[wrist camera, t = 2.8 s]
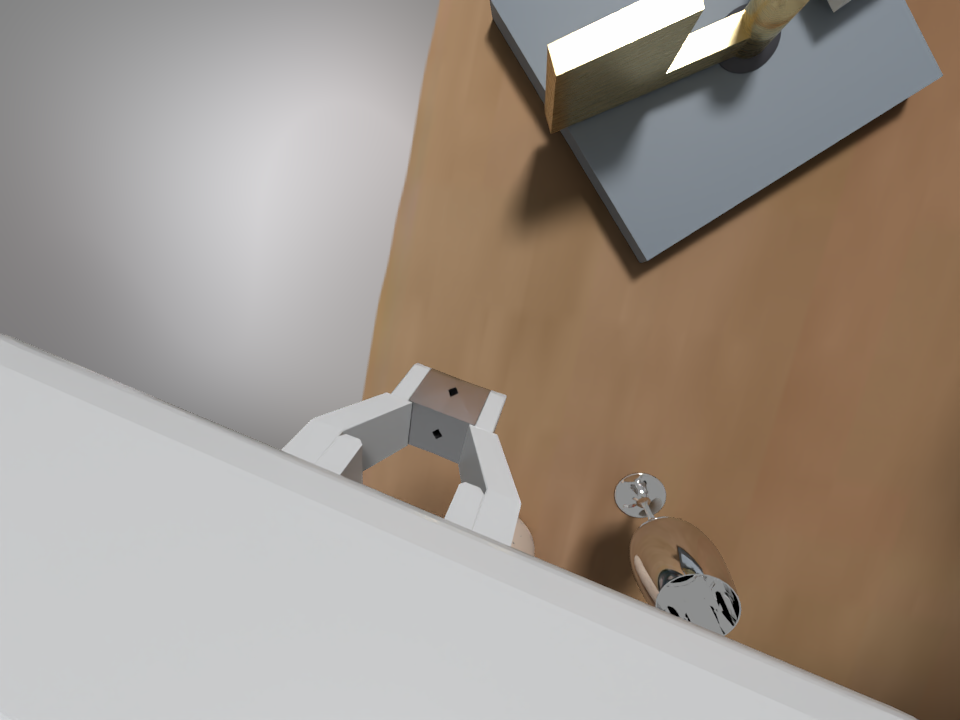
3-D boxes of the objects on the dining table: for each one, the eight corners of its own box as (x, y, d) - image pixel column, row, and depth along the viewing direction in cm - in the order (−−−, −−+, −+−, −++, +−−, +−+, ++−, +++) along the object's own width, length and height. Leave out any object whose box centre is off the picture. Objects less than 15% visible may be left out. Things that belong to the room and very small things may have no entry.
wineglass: (643, 453, 32) (705, 546, 20) (688, 498, 32) (775, 617, 20) (593, 491, 33) (624, 599, 22) (636, 534, 33) (690, 665, 22)
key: (802, -107, 22) (928, -296, 15) (851, -13, 22) (996, -153, 15) (534, 106, 26) (533, 38, 19) (579, 181, 26) (595, 142, 19)
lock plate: (752, -213, 23) (773, -262, 21) (910, 93, 24) (944, 74, 22) (492, 18, 27) (489, -4, 25) (639, 263, 29) (647, 260, 27)
